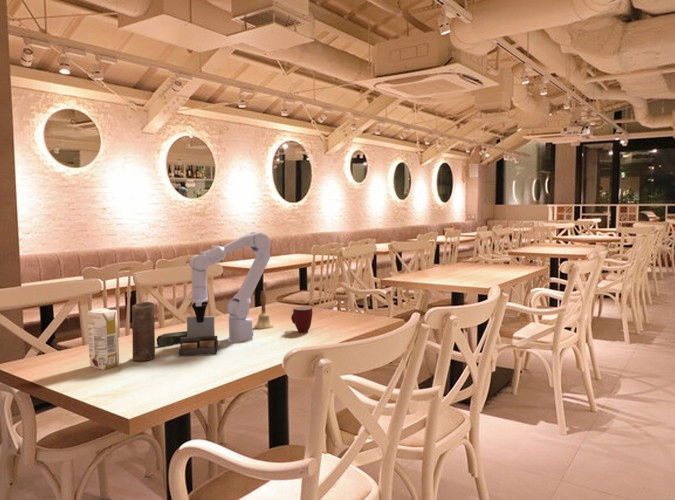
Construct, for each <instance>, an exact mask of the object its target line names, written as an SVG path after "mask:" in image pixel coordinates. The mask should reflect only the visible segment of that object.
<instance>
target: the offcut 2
mask: <svg viewBox="0 0 675 500" xmlns="http://www.w3.org/2000/svg"><path fill="white" fill-rule="evenodd" d="M202 347H214V340H213V341H200V348H202Z"/></svg>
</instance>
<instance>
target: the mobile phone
mask: <svg viewBox="0 0 675 500" xmlns="http://www.w3.org/2000/svg"><path fill="white" fill-rule="evenodd" d="M181 337H187V330H185V331H183V330H182V331H176V332H168V333H163V334H160V335H158V336H157V337H156V345H157V346H155V349H157V348H163V347H169V346H174V345H181Z"/></svg>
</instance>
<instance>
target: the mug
mask: <svg viewBox="0 0 675 500" xmlns="http://www.w3.org/2000/svg"><path fill="white" fill-rule="evenodd" d="M292 308H293V309H292V310H293V311H292V314H291V321H292V324H294V325H295V328H296V330H297V332H298V333H303V334H304V333H308V332H309V330H310V328H311V325H312V319H313V308H312V306H304V305H303V306H296V307H292Z"/></svg>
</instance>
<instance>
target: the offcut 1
mask: <svg viewBox="0 0 675 500" xmlns="http://www.w3.org/2000/svg"><path fill="white" fill-rule="evenodd" d="M184 348H197V343H183V344H182V349H184Z"/></svg>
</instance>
